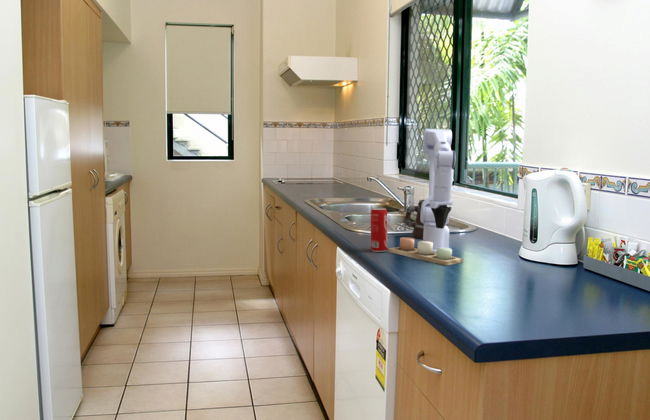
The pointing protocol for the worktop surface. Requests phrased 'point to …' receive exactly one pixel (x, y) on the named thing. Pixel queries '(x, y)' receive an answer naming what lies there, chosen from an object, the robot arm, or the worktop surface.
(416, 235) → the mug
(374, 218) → the beverage can
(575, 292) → the worktop surface
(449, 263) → the wooden board
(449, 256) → the button sage
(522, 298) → the worktop surface
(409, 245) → the button terracotta
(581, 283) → the worktop surface
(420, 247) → the button cream
